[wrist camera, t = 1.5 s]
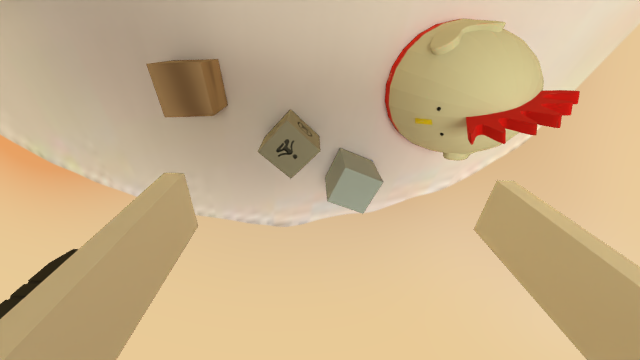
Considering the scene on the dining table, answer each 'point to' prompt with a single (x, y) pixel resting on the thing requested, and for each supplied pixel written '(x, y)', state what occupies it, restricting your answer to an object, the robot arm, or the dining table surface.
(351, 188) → the slate block
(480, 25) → the kitchen timer
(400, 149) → the dining table surface
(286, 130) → the dice cube
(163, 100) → the walnut block
